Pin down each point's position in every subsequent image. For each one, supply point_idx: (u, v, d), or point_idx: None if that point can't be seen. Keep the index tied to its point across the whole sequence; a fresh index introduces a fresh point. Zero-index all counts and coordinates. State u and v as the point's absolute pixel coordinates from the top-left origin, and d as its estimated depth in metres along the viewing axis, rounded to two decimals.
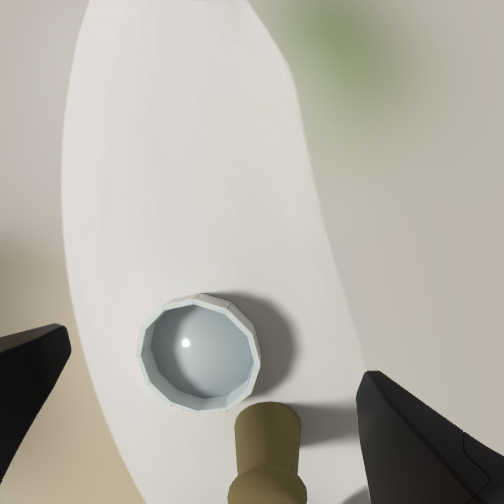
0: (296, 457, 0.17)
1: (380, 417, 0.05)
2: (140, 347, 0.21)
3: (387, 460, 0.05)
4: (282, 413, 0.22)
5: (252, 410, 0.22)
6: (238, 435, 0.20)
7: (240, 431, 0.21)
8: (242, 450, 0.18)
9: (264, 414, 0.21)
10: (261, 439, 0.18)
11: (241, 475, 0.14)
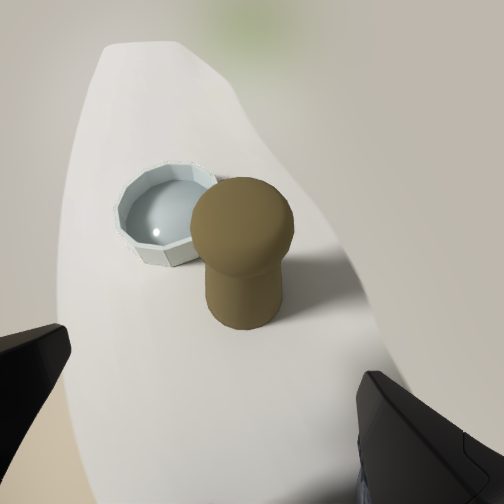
0: None
1: (380, 417, 0.05)
2: (119, 200, 0.24)
3: (387, 460, 0.05)
4: None
5: None
6: None
7: None
8: None
9: None
10: None
11: None
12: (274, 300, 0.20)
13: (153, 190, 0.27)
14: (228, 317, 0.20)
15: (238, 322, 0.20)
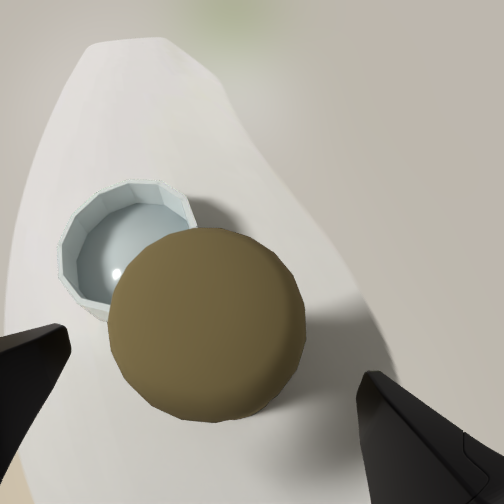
0: None
1: (380, 417, 0.05)
2: (64, 235, 0.16)
3: (387, 460, 0.05)
4: None
5: None
6: None
7: None
8: None
9: None
10: None
11: None
12: None
13: (112, 217, 0.20)
14: None
15: None
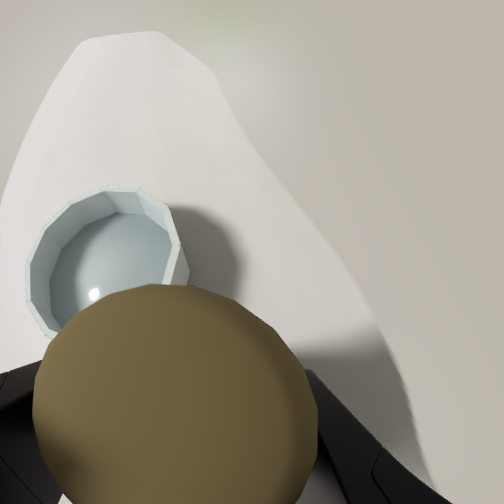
0: None
1: None
2: (33, 252, 0.13)
3: None
4: None
5: None
6: None
7: None
8: None
9: None
10: None
11: None
12: None
13: (88, 230, 0.17)
14: None
15: None
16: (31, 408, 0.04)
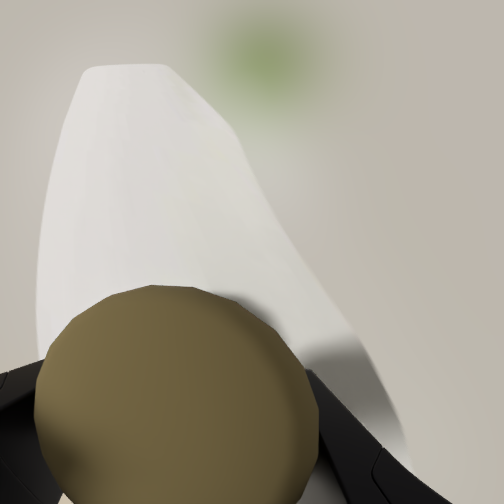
0: None
1: None
2: None
3: None
4: None
5: None
6: None
7: None
8: None
9: None
10: None
11: None
12: None
13: None
14: None
15: None
16: (31, 408, 0.04)
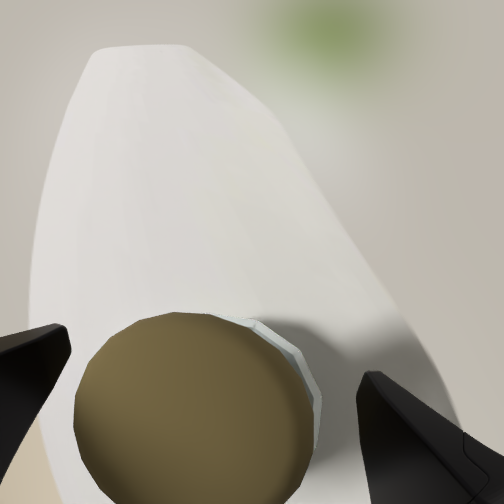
0: None
1: (380, 417, 0.05)
2: None
3: (387, 460, 0.05)
4: None
5: None
6: None
7: None
8: None
9: None
10: None
11: None
12: None
13: None
14: None
15: None
16: None
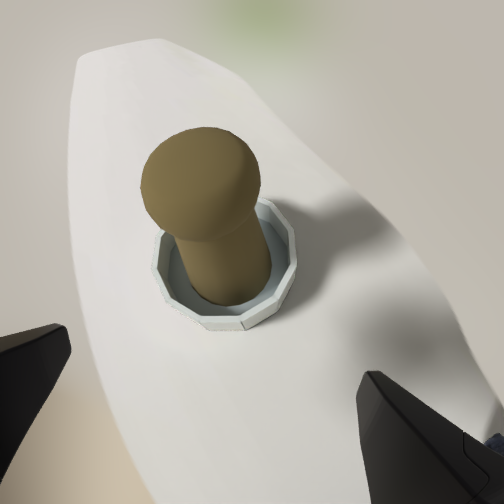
0: None
1: (380, 417, 0.05)
2: (156, 258, 0.19)
3: (387, 460, 0.05)
4: None
5: None
6: None
7: None
8: None
9: None
10: None
11: None
12: (260, 266, 0.18)
13: None
14: (213, 294, 0.18)
15: (225, 297, 0.18)
16: None
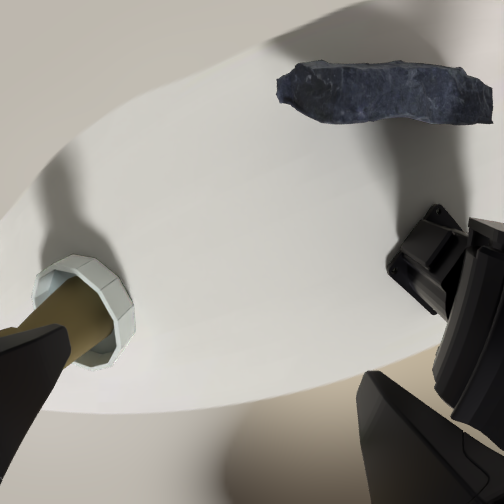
0: (30, 314, 0.16)
1: (380, 417, 0.05)
2: (84, 366, 0.21)
3: (387, 460, 0.05)
4: None
5: None
6: None
7: None
8: None
9: None
10: None
11: None
12: (77, 300, 0.18)
13: None
14: (102, 333, 0.20)
15: (105, 323, 0.20)
16: None
